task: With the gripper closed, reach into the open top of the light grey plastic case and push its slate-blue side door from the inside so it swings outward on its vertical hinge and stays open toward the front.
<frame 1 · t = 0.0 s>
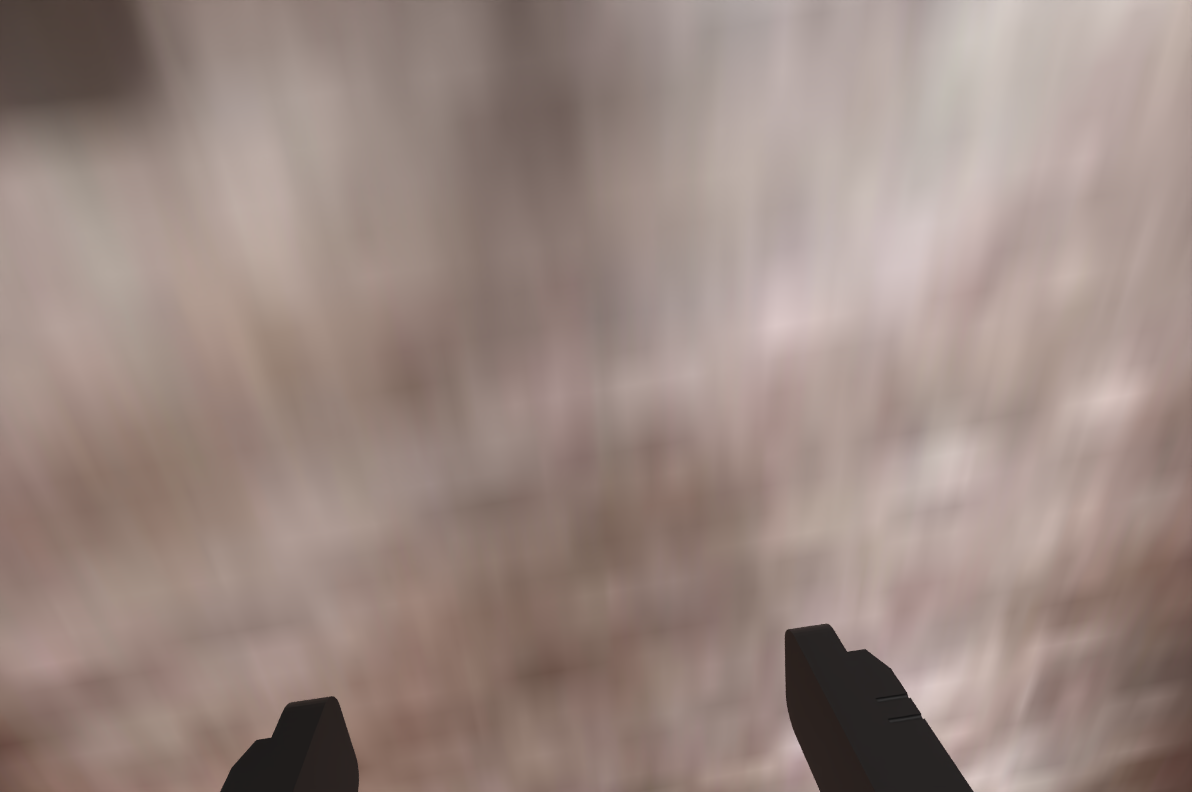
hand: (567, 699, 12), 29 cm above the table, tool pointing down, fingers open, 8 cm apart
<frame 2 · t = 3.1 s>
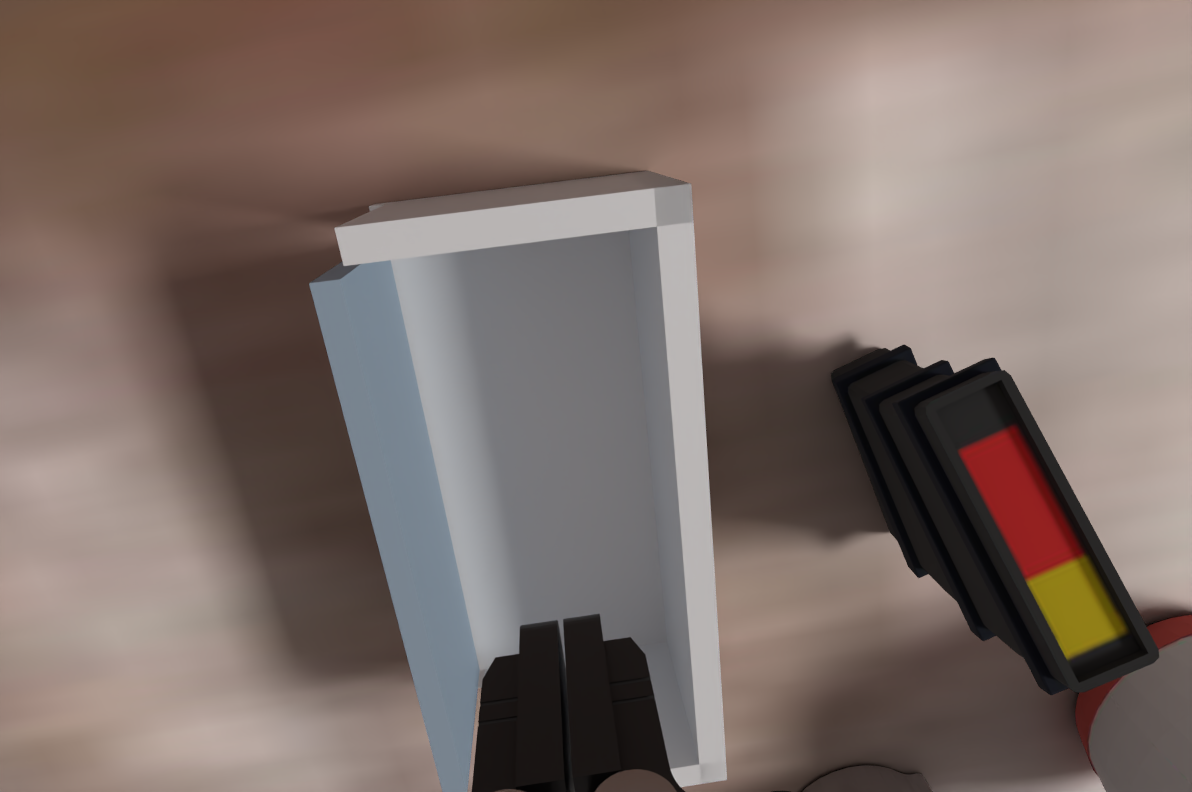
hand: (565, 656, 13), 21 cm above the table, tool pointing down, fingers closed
door: (406, 527, 30), point 5 cm above the table, hinge at 0.0°
case: (551, 454, 35), on the table
citrus juicer: (1159, 672, 44), on the table
magazine: (878, 425, 36), on the table
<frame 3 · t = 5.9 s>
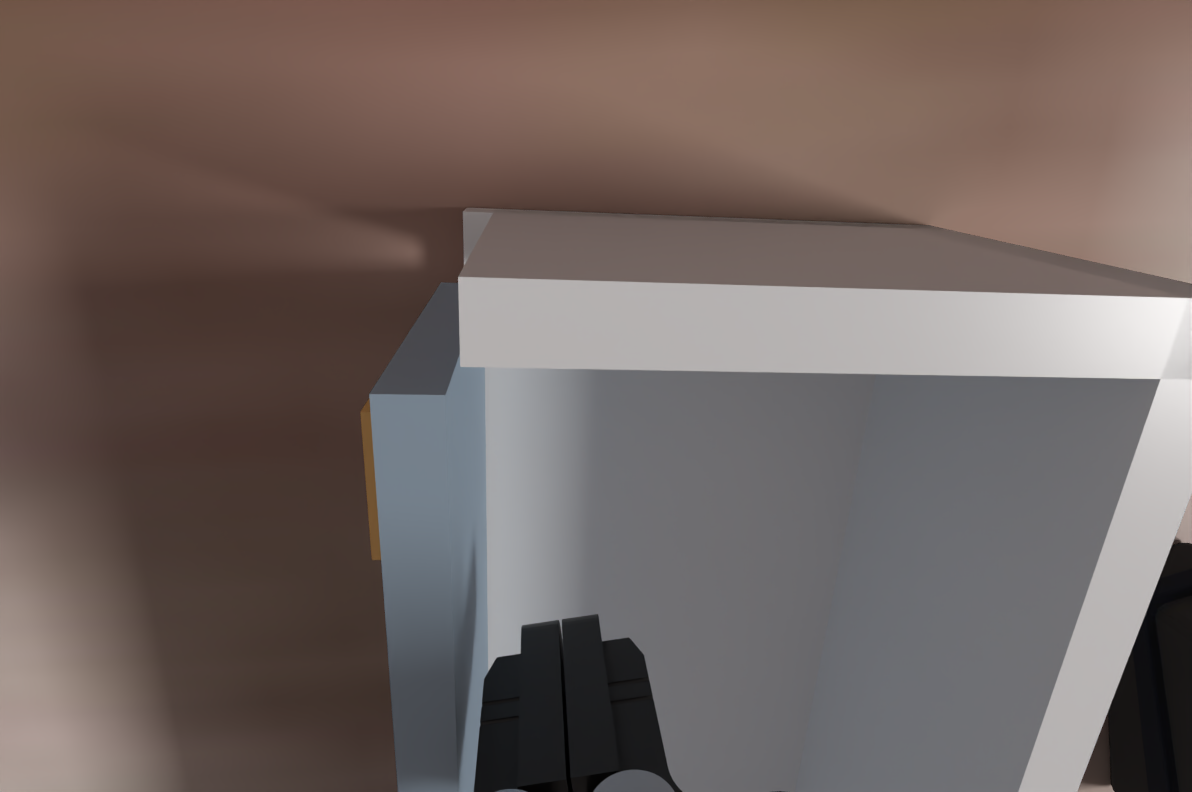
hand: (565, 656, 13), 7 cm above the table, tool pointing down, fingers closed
door: (440, 783, 17), point 5 cm above the table, hinge at 0.0°, touching gripper
case: (664, 634, 22), on the table
magazine: (1139, 643, 24), on the table
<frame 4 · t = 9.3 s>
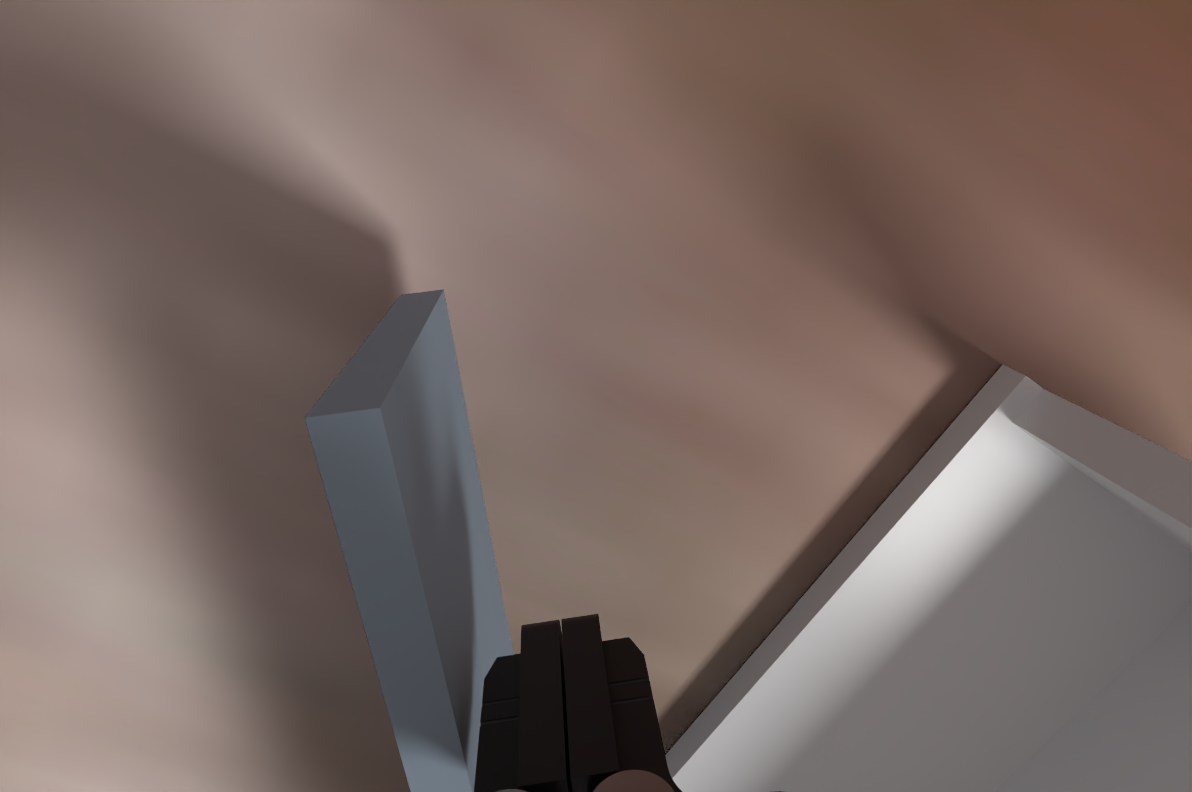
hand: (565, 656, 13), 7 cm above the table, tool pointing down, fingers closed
door: (477, 787, 17), point 5 cm above the table, hinge at 40.1°, touching gripper
case: (861, 743, 25), on the table
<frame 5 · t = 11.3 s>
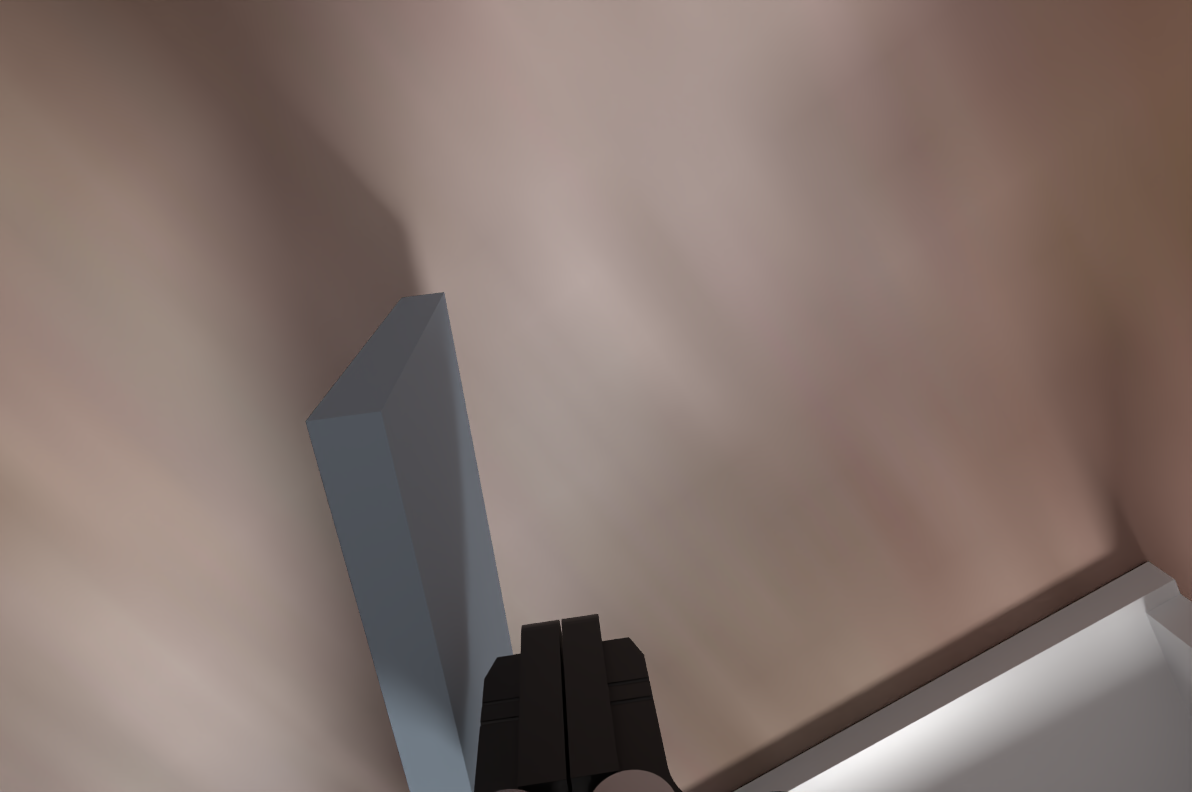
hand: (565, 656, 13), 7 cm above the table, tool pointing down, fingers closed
door: (477, 790, 17), point 5 cm above the table, hinge at 62.9°, touching gripper
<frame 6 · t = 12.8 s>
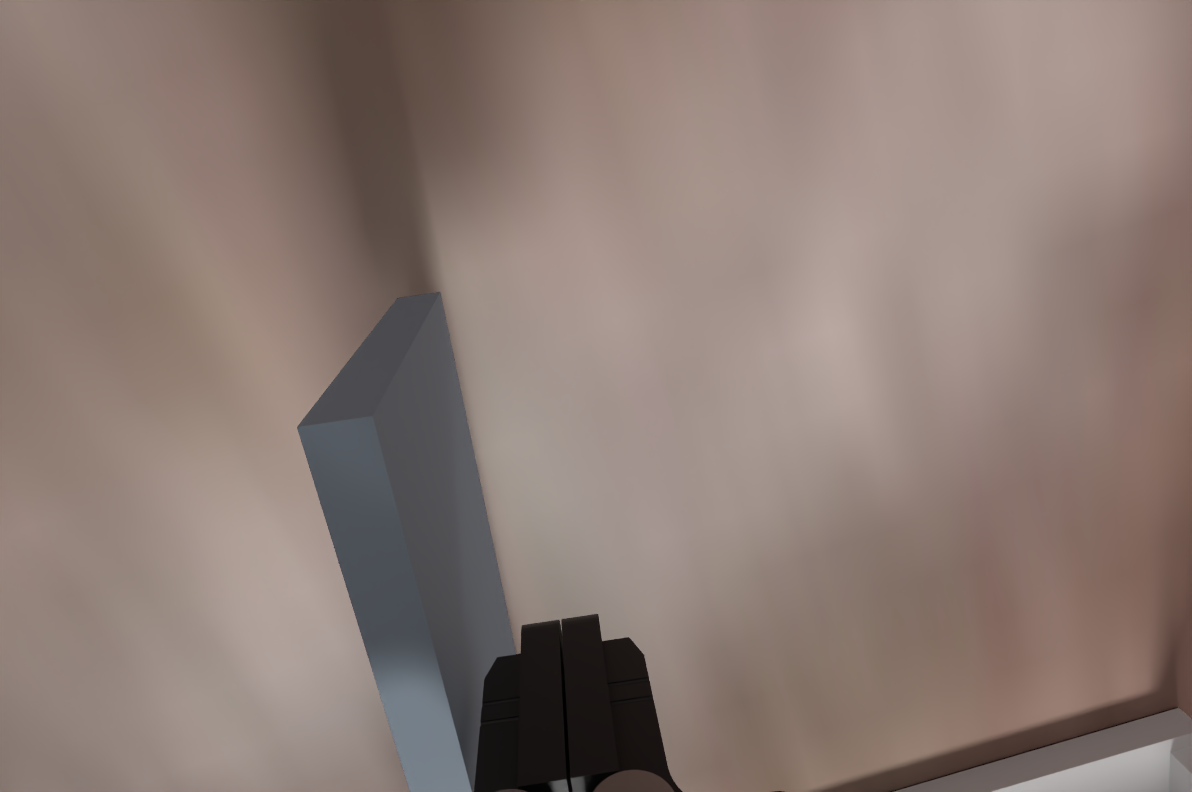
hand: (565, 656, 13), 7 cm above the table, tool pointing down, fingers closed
door: (481, 788, 17), point 5 cm above the table, hinge at 80.7°, touching gripper
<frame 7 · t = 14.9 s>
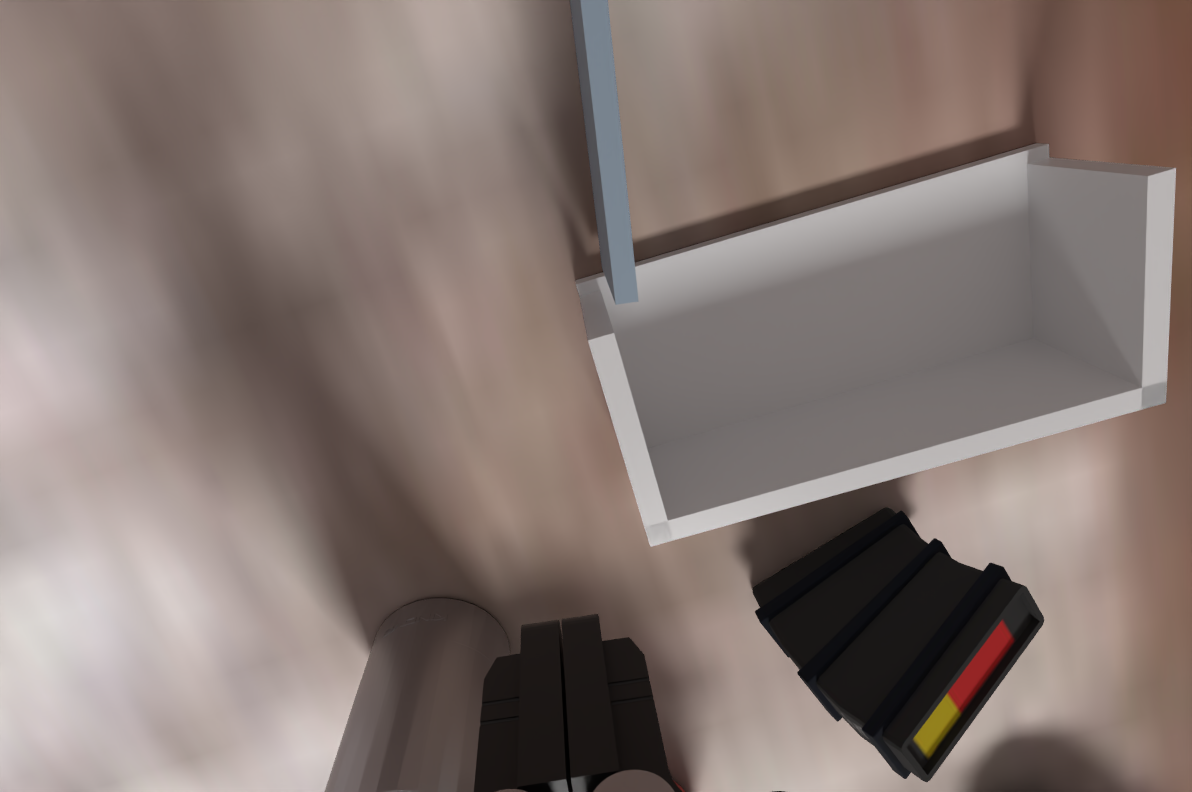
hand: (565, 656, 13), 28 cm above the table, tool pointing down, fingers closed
door: (579, 19, 29), point 5 cm above the table, hinge at 81.2°
case: (819, 314, 40), on the table
magazine: (841, 550, 47), on the table
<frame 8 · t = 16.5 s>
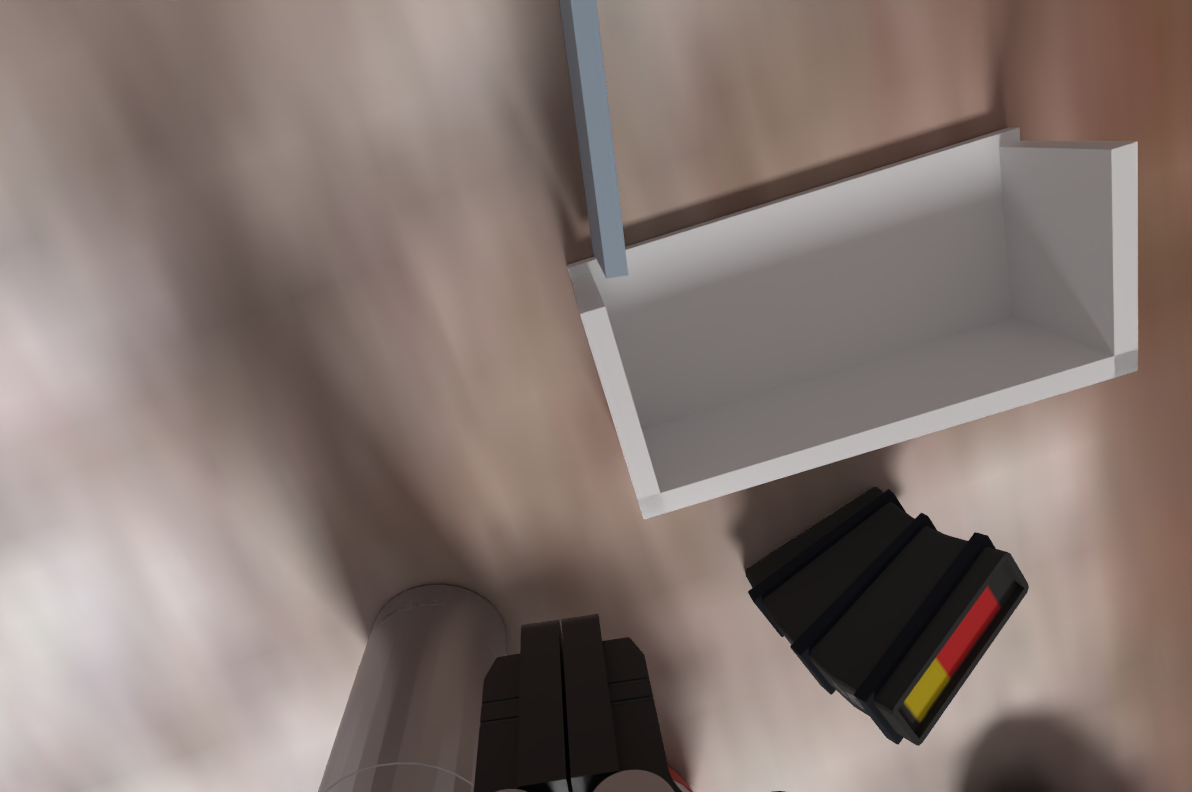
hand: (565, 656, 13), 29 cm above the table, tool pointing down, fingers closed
door: (567, 6, 31), point 5 cm above the table, hinge at 81.2°
case: (803, 296, 42), on the table
magazine: (831, 531, 48), on the table
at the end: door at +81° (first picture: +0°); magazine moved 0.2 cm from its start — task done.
